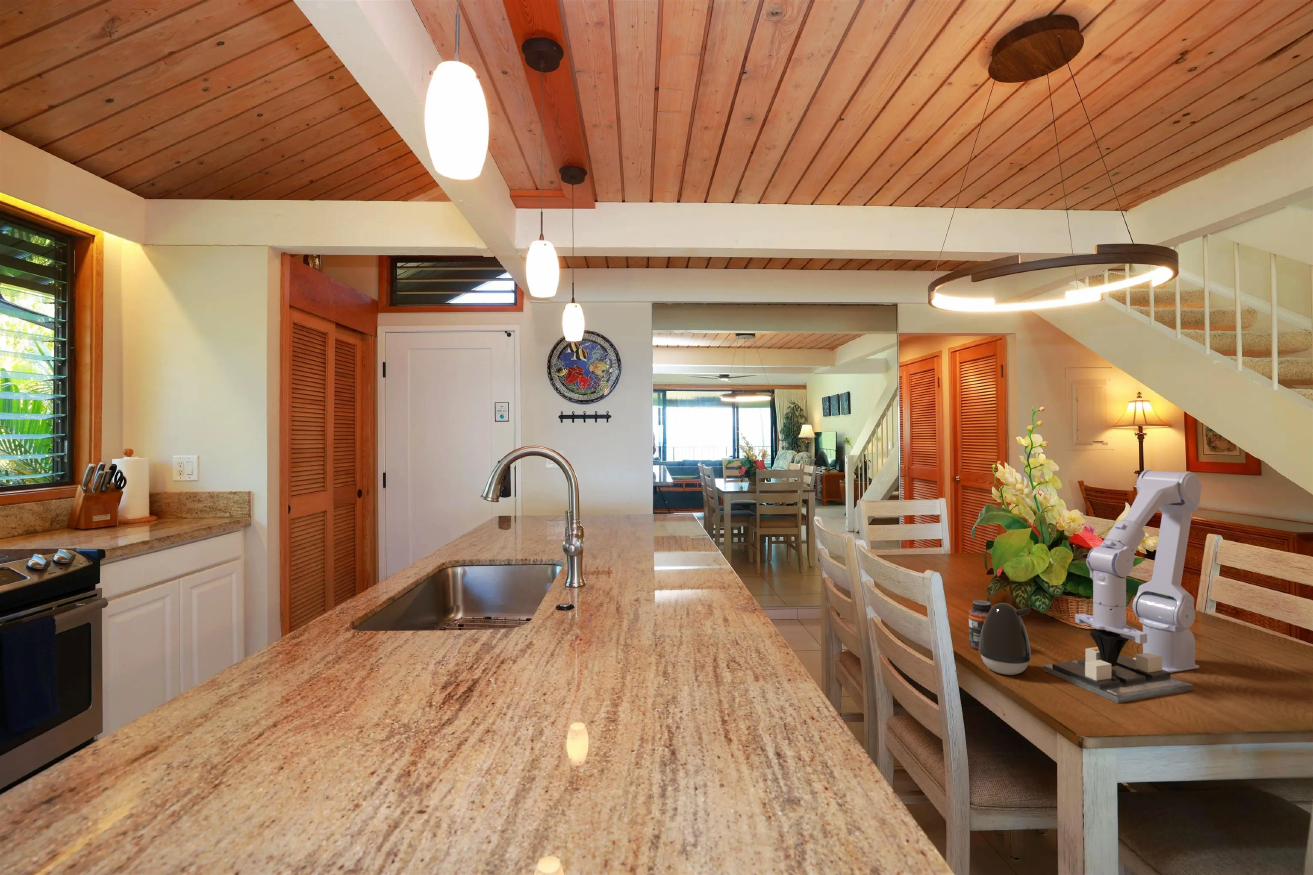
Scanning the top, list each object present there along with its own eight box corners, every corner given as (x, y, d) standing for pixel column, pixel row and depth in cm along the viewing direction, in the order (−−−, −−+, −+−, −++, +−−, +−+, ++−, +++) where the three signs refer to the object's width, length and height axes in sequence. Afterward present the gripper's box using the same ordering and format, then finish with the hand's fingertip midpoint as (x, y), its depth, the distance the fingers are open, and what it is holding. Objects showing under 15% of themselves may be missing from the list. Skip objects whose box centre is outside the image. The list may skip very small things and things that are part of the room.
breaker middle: (1099, 659, 138) (1099, 645, 138) (1110, 663, 135) (1110, 649, 135) (1085, 661, 137) (1085, 647, 137) (1096, 666, 134) (1096, 651, 134)
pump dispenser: (1039, 681, 132) (1039, 611, 132) (987, 678, 134) (986, 608, 134) (1021, 663, 142) (1021, 597, 142) (973, 660, 144) (972, 596, 144)
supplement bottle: (996, 645, 154) (995, 600, 153) (996, 653, 148) (996, 606, 148) (969, 641, 156) (969, 597, 156) (968, 649, 151) (968, 603, 151)
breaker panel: (1112, 660, 143) (1112, 650, 143) (1192, 690, 127) (1192, 679, 127) (1043, 670, 138) (1043, 660, 138) (1117, 703, 122) (1117, 692, 121)
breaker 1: (1099, 673, 130) (1099, 659, 130) (1111, 678, 128) (1111, 663, 128) (1085, 675, 129) (1085, 661, 129) (1096, 680, 127) (1096, 666, 127)
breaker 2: (1150, 665, 134) (1150, 652, 134) (1162, 670, 131) (1162, 656, 131) (1136, 668, 133) (1136, 654, 133) (1147, 672, 130) (1147, 658, 130)
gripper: (1064, 595, 139) (1064, 655, 139) (1128, 614, 125) (1128, 680, 125) (1088, 593, 141) (1089, 651, 141) (1154, 611, 127) (1155, 676, 127)
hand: (1109, 665), depth 133 cm, fingers closed
